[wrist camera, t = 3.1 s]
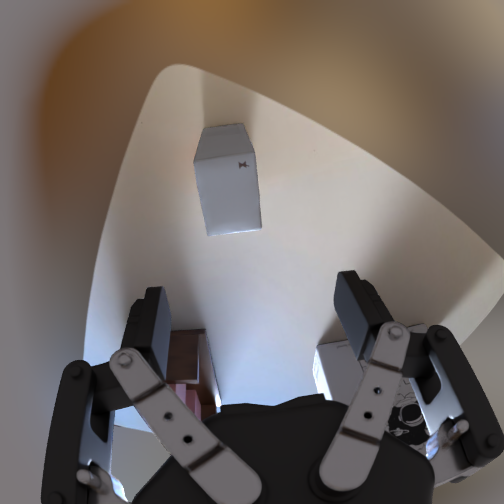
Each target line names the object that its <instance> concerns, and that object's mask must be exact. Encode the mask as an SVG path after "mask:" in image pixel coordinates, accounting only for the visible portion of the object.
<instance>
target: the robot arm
mask: <svg viewBox="0 0 504 504" xmlns="http://www.w3.org/2000/svg"><path fill="white" fill-rule="evenodd" d="M334 307H335V310H336V312H337V315H338V317H339V319H340V322H341V324H342V326H343V329H344V331H345V333H346V336H347V338H348V340H349V343H350V345H351V348H352V350H353V352H354V355H355V357H356V360H357V361H360V360H366V362H367V365H366V368H365V370H364V373H363V375H362V377H361V380H360V382H359V385H358V387H357V389H356V392H355V394H354V396H353V398H352V401H351V403H350V405H349V406H348V405H346V404H344V403H341V402H338V401H334V400H326V399H325V396H324V393H319V394H313V395H307V396H301V397H297V398H295V399H292V400H289V401H287V402H284V403H281V404H278V405H275V406H267V405H258V404H249V403H242V404H229V405H220V409H221V412H219V413H216V414H213V415H211V416H209V417H207V418H205V419H204V420H202V421H200V420H199V419H198V418H197V416H196V415H195V414H194V413H193V412H192V411H191V410H190V409H189V408H188V407H187V406H186V404H185V403H184V402H183V401H182V400H181V399H180V398H179V396H178V395H177V394H176V393H175V392H174V391H173V390H172V388H171V387H170V386H169V385H168V384H167V383H166V382H165V383H163V382H162V381H165V379H166V368H167V358H168V349H169V340H170V331H171V312H170V308H169V304H168V300H167V296H166V292H165V289H164V287H163V286H159V287H147V289H146V293H145V297H144V299H137V300H136V301H135V303H134V304H133V305H132V306H131V309H130V313H129V317H128V320H127V324H126V328H125V332H124V335H123V339H122V344H121V348H120V350H118V351H116V352H115V353H114V354H113V355H112V356H111V358H110V361H108V362H106V363H103V364H99V365H95V366H90V364H89V363H88V362H86V361H84V360H76V361H73V362H71V363H69V364H68V365H67V366H66V367H65V369H64V371H63V374H62V378H61V381H60V385H59V390H58V393H57V398H56V402H55V407H54V411H53V416H52V421H51V426H50V431H49V437H48V443H47V449H46V456H45V463H44V470H43V479H42V489H41V503H42V504H432V496H433V490H434V488H435V487H437V486H439V485H442V484H444V483H447V482H451V483H458V482H460V481H462V480H464V479H466V478H467V477H469V476H470V475H472V474H473V473H475V472H477V471H478V470H480V469H481V468H482V467H484V466H485V465H487V464H488V463H490V462H491V461H493V460H494V459H495V458H497V457H498V456H499V455H500V454H501V453H502V452H503V450H504V434H503V432H502V430H501V428H500V425H499V423H498V420H497V418H496V416H495V414H494V412H493V409H492V407H491V405H490V403H489V401H488V399H487V397H486V395H485V393H484V391H483V389H482V387H481V385H480V383H479V381H478V379H477V377H476V375H475V373H474V372H473V370H472V368H471V366H470V364H469V362H468V360H467V358H466V357H465V355H464V353H463V351H462V350H461V348H460V346H459V344H458V343H457V341H456V339H455V337H454V336H453V334H452V333H451V331H450V330H449V329H448V328H446V327H444V326H441V325H433V326H431V327H429V328H428V330H427V332H426V333H415V332H409V330H408V329H407V327H406V326H404V325H403V324H401V323H399V322H395V321H394V320H393V318H392V316H391V314H390V313H389V311H388V309H387V308H386V306H385V304H384V303H383V301H382V300H381V298H380V296H379V295H378V293H377V291H376V289H375V288H374V286H373V285H372V284H370V283H369V282H368V281H367V280H360V278H359V276H358V275H357V273H356V271H354V270H351V271H341V272H339V273H338V275H337V281H336V287H335V293H334ZM402 378H409V381H410V383H411V386H412V388H413V390H414V393H415V396H416V398H417V401H418V403H419V406H420V408H421V411H422V414H423V416H424V419H425V422H426V424H427V427H428V430H429V433H430V437H429V439H428V441H427V444H426V449H427V457H426V456H424V455H423V454H422V453H420V452H419V451H417V450H415V449H414V448H412V447H411V446H409V445H408V444H406V443H404V442H403V441H401V440H400V439H398V438H397V437H395V436H393V435H392V434H390V433H389V432H387V431H386V430H385V428H386V425H387V422H388V419H389V417H390V414H391V411H392V408H393V405H394V402H395V399H396V395H397V392H398V389H399V386H400V382H401V379H402ZM129 406H134V407H135V409H136V410H137V411H138V413H139V414H140V416H141V417H142V418H143V420H144V421H145V423H146V424H147V425H148V427H149V428H150V429H151V431H152V432H153V433H154V435H155V436H156V437H157V439H158V440H159V441H160V442H161V444H162V445H163V446H164V448H165V449H166V450H167V451H168V452H169V454H170V455H171V456H170V457H169V458H168V459H167V461H166V462H165V463H164V464H163V465H162V466H161V468H160V469H159V470H158V471H157V472H156V473H155V474H154V475H153V476H152V478H151V479H150V480H149V481H148V482H147V483H146V484H145V485H144V486H143V488H142V489H141V490H140V491H139V492H138V493H137V494H136V496H135V497H134V499H133V501H132V503H130V502H128V501H127V499H126V497H125V495H124V491H123V486H122V484H121V483H120V481H119V480H118V479H117V478H115V477H114V476H112V475H111V458H112V441H113V429H114V417H115V410H118V409H122V408H126V407H129Z"/></svg>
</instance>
